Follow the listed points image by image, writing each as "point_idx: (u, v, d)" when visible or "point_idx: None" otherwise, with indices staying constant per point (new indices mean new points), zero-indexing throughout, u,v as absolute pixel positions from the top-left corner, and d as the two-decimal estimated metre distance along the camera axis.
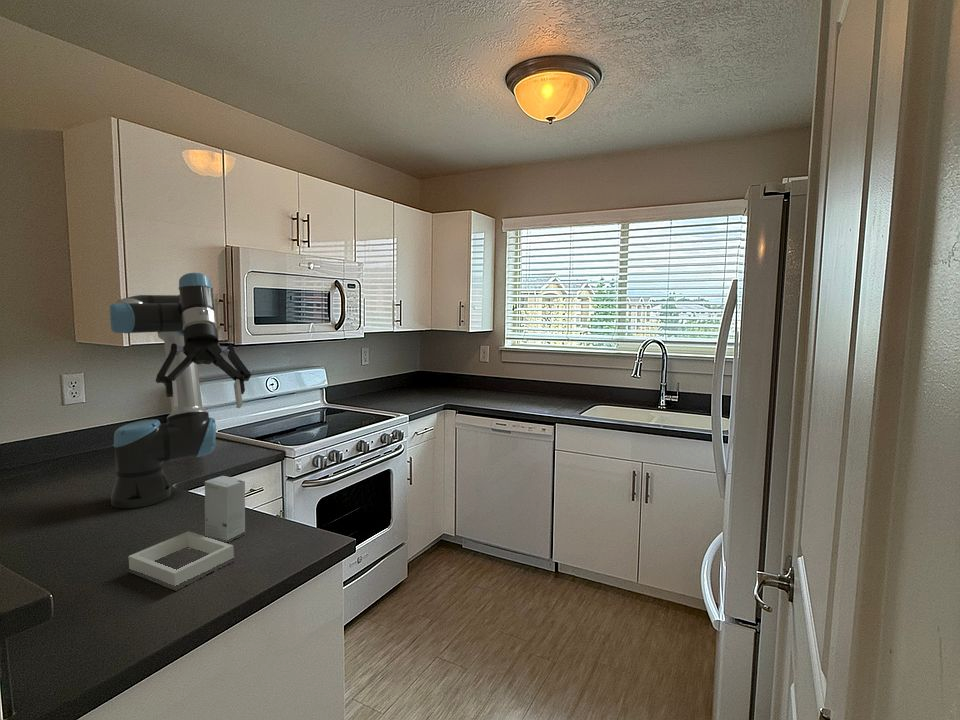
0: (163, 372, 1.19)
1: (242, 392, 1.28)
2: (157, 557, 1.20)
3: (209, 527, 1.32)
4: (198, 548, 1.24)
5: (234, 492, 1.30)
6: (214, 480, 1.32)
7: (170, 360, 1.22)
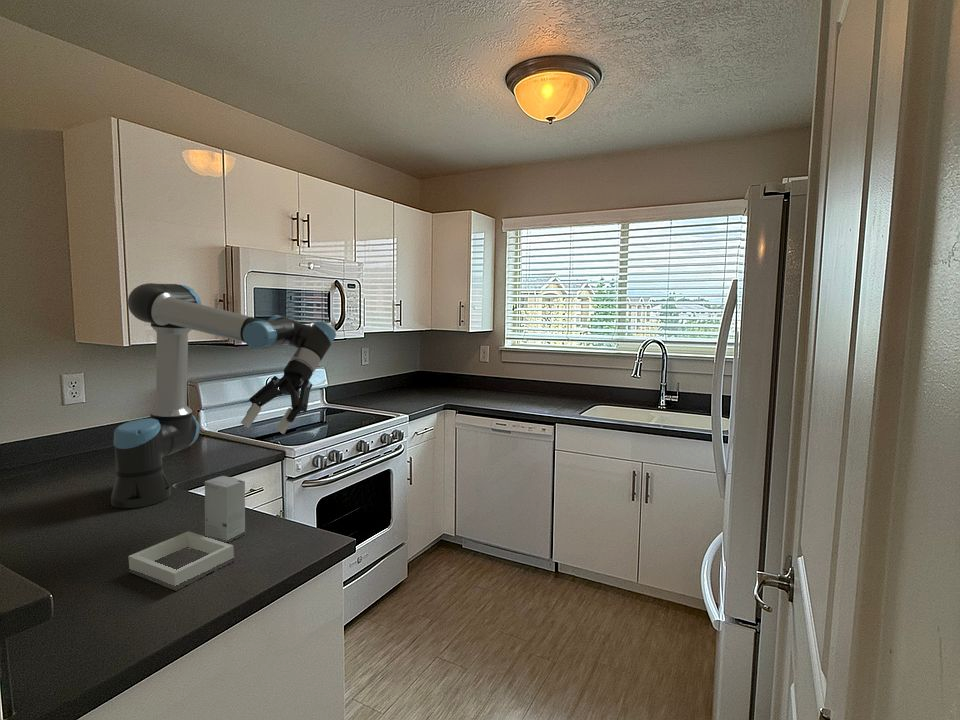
0: None
1: None
2: (157, 557, 1.20)
3: (209, 527, 1.32)
4: (198, 548, 1.24)
5: (234, 492, 1.30)
6: (214, 480, 1.32)
7: None
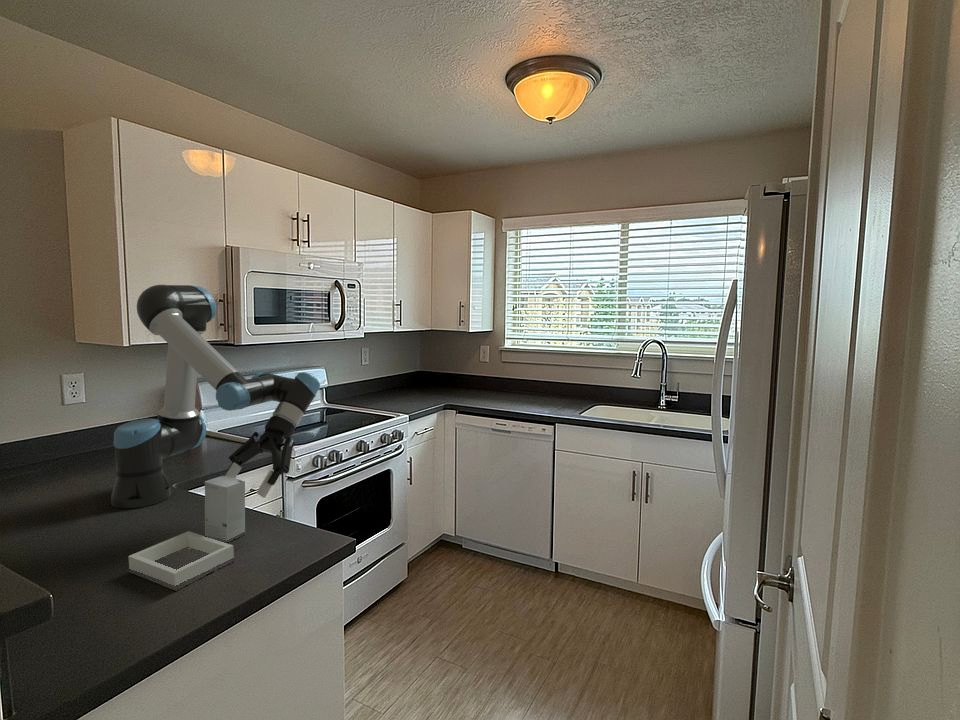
0: None
1: None
2: (157, 557, 1.20)
3: (209, 527, 1.32)
4: (198, 548, 1.24)
5: (234, 492, 1.30)
6: (214, 480, 1.32)
7: None
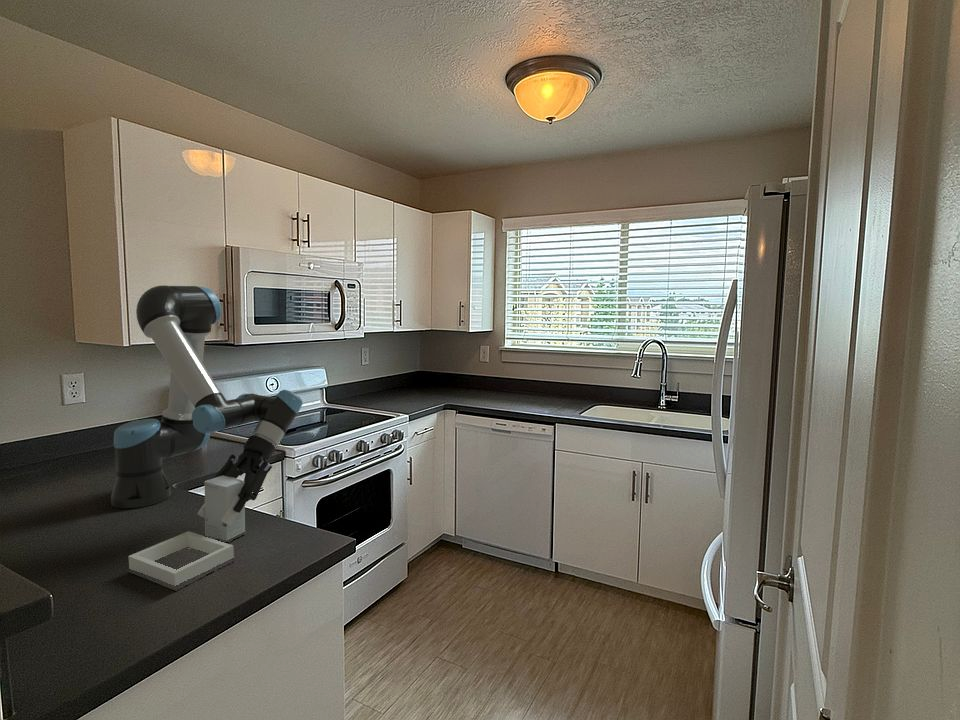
0: None
1: None
2: (157, 557, 1.20)
3: (209, 527, 1.32)
4: (198, 548, 1.24)
5: (234, 492, 1.30)
6: (214, 480, 1.32)
7: None
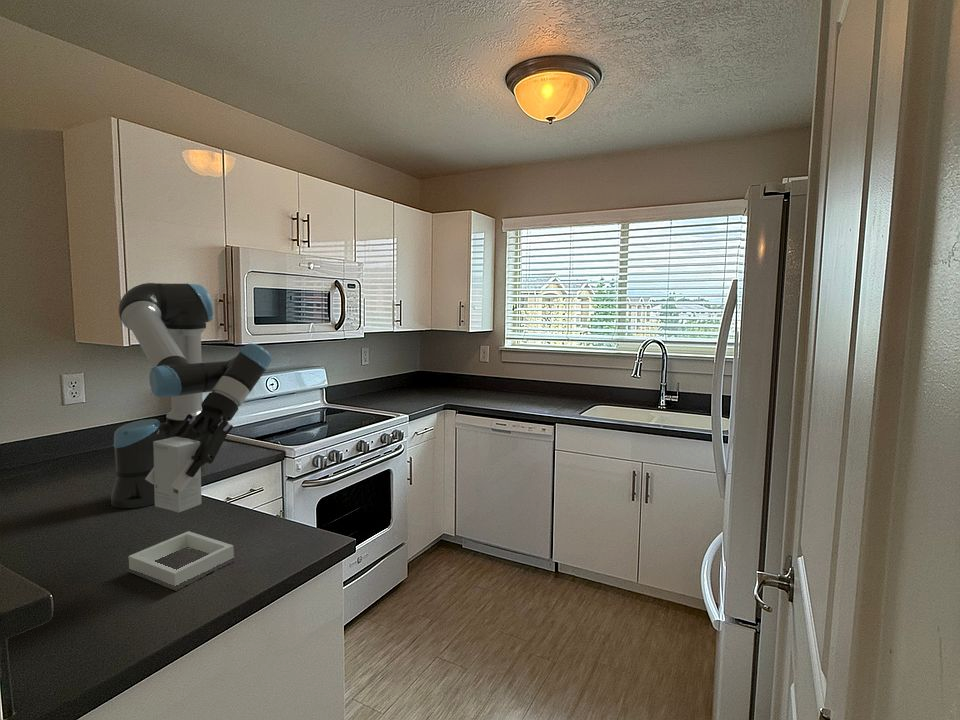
0: None
1: None
2: (157, 557, 1.20)
3: (159, 495, 1.14)
4: (198, 548, 1.24)
5: (187, 454, 1.13)
6: (164, 440, 1.15)
7: None
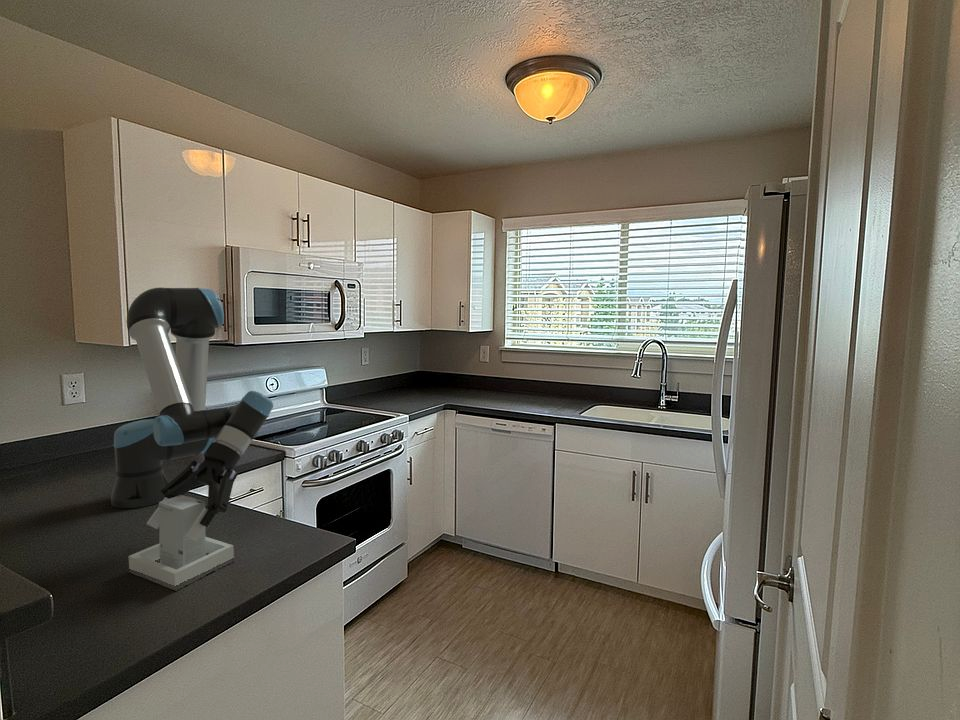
0: None
1: None
2: (157, 557, 1.20)
3: (164, 554, 1.16)
4: None
5: (192, 515, 1.14)
6: (170, 501, 1.16)
7: None
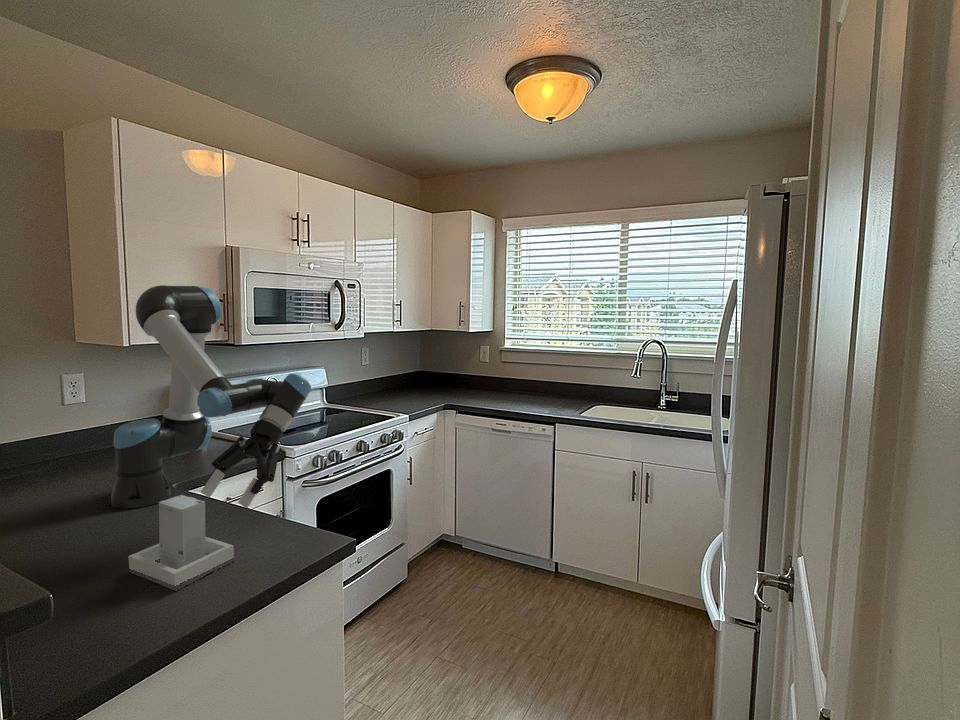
0: None
1: None
2: (157, 557, 1.20)
3: (164, 554, 1.16)
4: None
5: (192, 515, 1.14)
6: (170, 501, 1.16)
7: None
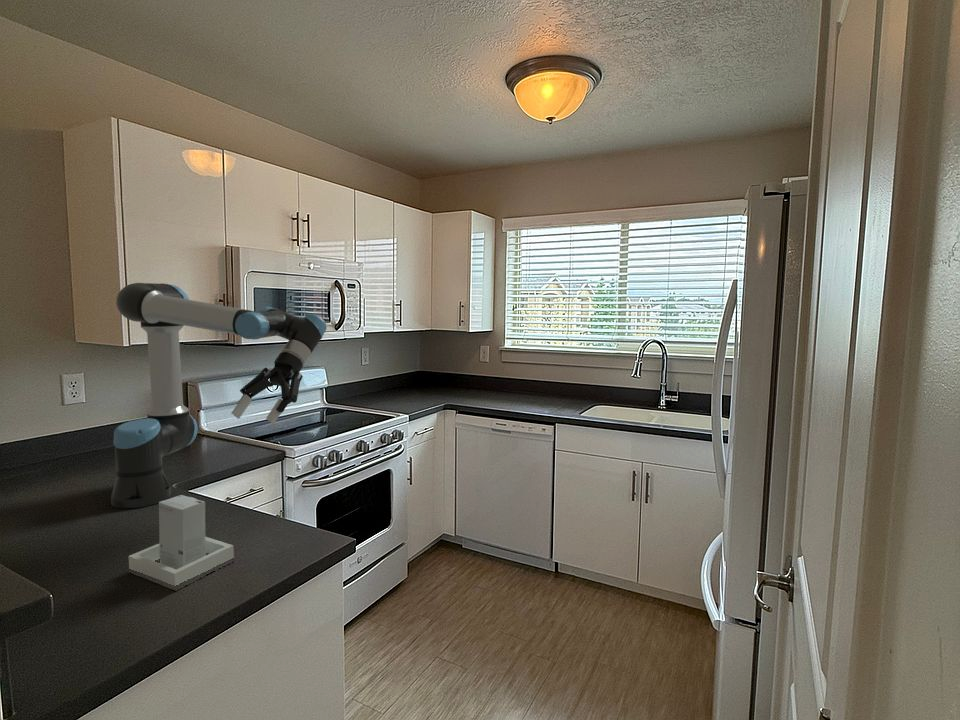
0: None
1: None
2: (157, 557, 1.20)
3: (164, 554, 1.16)
4: None
5: (192, 515, 1.14)
6: (170, 501, 1.16)
7: None
